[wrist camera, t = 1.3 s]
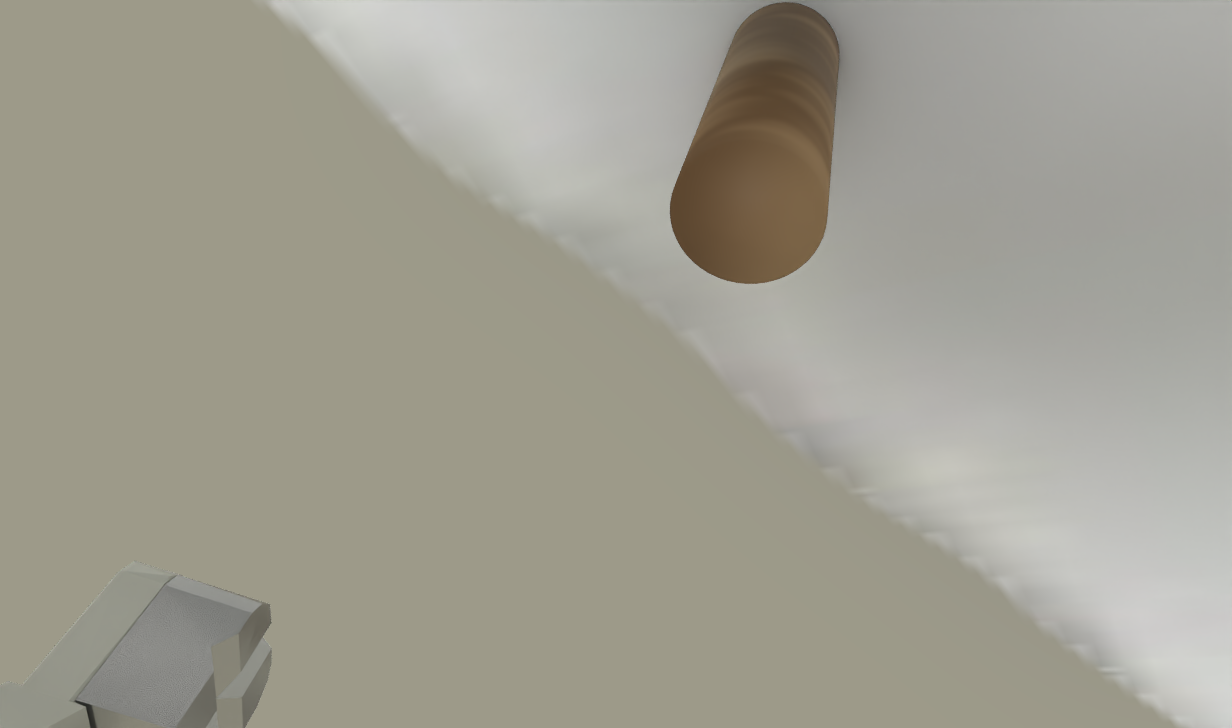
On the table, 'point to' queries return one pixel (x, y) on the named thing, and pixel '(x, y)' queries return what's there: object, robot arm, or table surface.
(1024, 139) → the table surface
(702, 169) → the peg
